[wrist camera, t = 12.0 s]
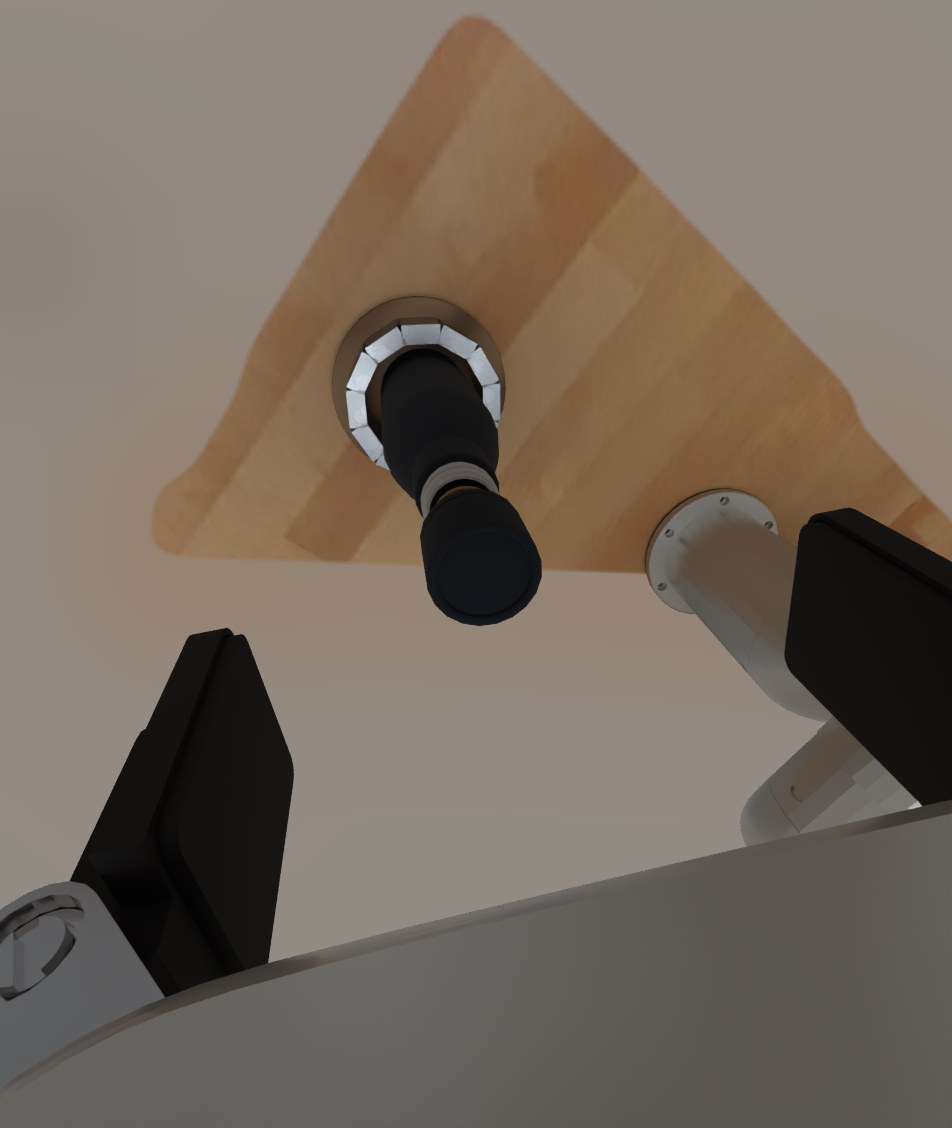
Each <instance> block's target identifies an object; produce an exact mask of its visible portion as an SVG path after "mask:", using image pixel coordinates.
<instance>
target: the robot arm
mask: <svg viewBox="0 0 952 1128" xmlns="http://www.w3.org/2000/svg"><path fill="white" fill-rule="evenodd" d="M646 573H647V577H648V580H649V583H650V585H651V587H652V589H653V590H654V592H655V593H656V594H657V596H658V597H659V598H660V599H661V600H662V601H663V602H664V603H665V604H667V605H668V606H669V607H671V608H673V609H675V610H678V611H680V612H684V613H689V614H696V615H698V617H699V618H700V619H701V620H702V621H703V623H704V624H705V625H706V626H707V627H708V628H709V629H710V631H711V632H712V633H713V634H714V635H715V636H716V637H717V639H718V640H719V641H720V642H721V643H722V644H723V645H724V647H725V648H726V649H727V650H728V651H729V652H730V653H731V655H732V656H733V657H734V658H735V659H736V660H737V661H738V662H739V664H740V665H741V666H742V667H743V668H744V669H745V671H746V672H747V673H748V674H749V675H750V676H751V677H752V678H753V680H754V681H755V682H756V683H757V684H758V685H759V687H760V688H761V689H762V690H763V691H764V692H765V693H766V694H767V695H768V696H769V697H770V698H771V699H772V700H773V701H774V702H776V703H777V704H779V705H780V706H782V707H783V708H785V709H787V710H789V711H791V712H793V713H795V714H797V715H800V716H803V717H806V718H810V719H814V720H817V721H822V722H826V724H824V725H823V726H822V727H821V728H820V729H819V730H818V731H817V734H816V735H815V736H814V737H813V738H812V739H811V740H810V741H808V743H806V744H805V745H804V746H803V747H802V748H801V749H800V750H799V751H798V752H797V753H795V754H794V755H793V756H792V757H791V758H790V759H789V760H788V761H787V762H786V763H785V764H784V765H782V766H781V767H780V768H779V769H778V770H777V771H776V772H775V773H774V774H773V775H772V776H771V777H769V778H768V779H767V780H766V781H765V782H764V783H763V784H762V785H761V786H760V787H759V788H758V789H757V790H756V791H755V792H754V793H753V794H752V796H751V797H750V798H749V799H748V801H747V803H746V804H745V806H744V808H743V811H742V814H741V820H740V824H741V832H742V836H743V839H744V841H745V843H746V846H747V847H744V848H739V849H735V850H731V851H727V852H722V853H718V854H713V855H710V856H705V857H701V858H697V859H692V860H688V861H684V862H679V863H675V864H671V865H667V866H663V867H658V868H654V869H650V870H645V871H641V872H637V873H633V874H628V875H624V876H620V877H615V878H611V879H607V880H603V881H599V882H594V883H591V884H586V885H582V886H578V887H574V888H569V889H565V890H562V891H557V892H553V893H549V894H544V895H540V896H536V897H532V898H528V899H524V900H519V901H515V902H511V903H507V904H503V905H498V906H494V907H491V908H486V909H482V910H478V911H473V912H469V913H465V914H461V915H457V916H453V917H449V918H444V919H440V920H436V921H432V922H428V923H424V924H419V925H415V926H411V927H407V928H403V929H399V930H395V931H391V932H388V933H383V934H380V935H376V936H372V937H368V938H364V939H361V940H356V941H353V942H348V943H345V944H341V945H337V946H333V947H329V948H325V949H321V950H317V951H314V952H310V953H306V954H302V955H298V956H294V957H290V958H286V959H283V960H279V961H275V962H271V963H268V959H269V952H270V946H271V938H272V931H273V924H274V917H275V910H276V903H277V895H278V888H279V881H280V874H281V866H282V860H283V852H284V845H285V838H286V831H287V824H288V816H289V809H290V802H291V795H292V788H293V780H294V769H293V763H292V759H291V755H290V752H289V750H288V747H287V745H286V742H285V739H284V736H283V734H282V731H281V728H280V726H279V723H278V720H277V718H276V715H275V713H274V710H273V707H272V704H271V702H270V699H269V697H268V694H267V691H266V689H265V686H264V683H263V681H262V678H261V675H260V673H259V670H258V668H257V665H256V662H255V659H254V657H253V654H252V651H251V649H250V646H249V643H248V641H247V639H246V637H245V636H244V635H242V634H240V635H235V636H234V634H233V633H232V631H231V630H230V629H228V628H224V629H219V630H213V631H209V632H203V633H198V634H193V635H190V636H189V637H188V639H187V640H186V643H185V645H184V647H183V649H182V651H181V653H180V656H179V658H178V660H177V662H176V664H175V667H174V669H173V671H172V673H171V675H170V678H169V680H168V682H167V684H166V686H165V688H164V691H163V693H162V695H161V697H160V699H159V701H158V704H157V706H156V708H155V710H154V712H153V714H152V717H151V719H150V721H149V723H148V725H147V727H146V729H144V730H143V731H141V733H140V734H139V736H138V738H137V739H136V741H135V743H134V745H133V747H132V749H131V752H130V753H129V756H128V758H127V760H126V762H125V764H124V766H123V768H122V771H121V773H120V775H119V777H118V779H117V781H116V783H115V785H114V788H113V790H112V792H111V794H110V796H109V798H108V800H107V802H106V805H105V807H104V809H103V811H102V813H101V815H100V818H99V820H98V822H97V824H96V826H95V828H94V830H93V832H92V834H91V837H90V839H89V841H88V843H87V845H86V848H85V849H84V851H83V854H82V856H81V858H80V860H79V862H78V865H77V866H76V869H75V871H74V873H73V875H72V877H71V879H70V881H69V882H62V883H55V884H50V885H47V886H44V887H42V888H39V889H37V890H34V891H31V892H29V893H27V894H25V895H23V896H22V897H20V898H18V899H17V900H15V901H13V902H12V903H10V904H8V905H7V906H5V907H4V908H2V909H1V910H0V1128H952V562H951V561H949V560H947V559H946V558H944V557H942V556H940V555H938V554H936V553H935V552H933V551H931V550H929V549H927V548H925V547H924V546H922V545H920V544H918V543H916V542H914V541H912V540H911V539H909V538H907V537H905V536H903V535H901V534H900V533H898V532H896V531H894V530H892V529H890V528H889V527H887V526H885V525H883V524H881V523H879V522H877V521H876V520H874V519H872V518H870V517H868V516H866V515H865V514H863V513H861V512H859V511H857V510H855V509H852V508H844V509H839V510H834V511H828V512H823V513H818V514H815V515H813V516H812V517H811V518H810V519H809V521H808V524H806V525H804V526H803V527H802V529H801V530H800V534H799V541H798V549H796V548H794V547H793V546H792V545H790V544H789V543H787V542H786V541H785V540H783V539H782V538H780V537H779V533H778V528H777V523H776V521H775V518H774V516H773V514H772V513H771V511H770V510H769V509H768V508H767V506H766V505H765V504H763V503H762V502H761V501H759V500H758V499H757V498H755V497H753V496H751V495H750V494H748V493H745V492H742V491H738V490H731V489H719V490H711V491H708V492H704V493H701V494H698V495H696V496H694V497H692V498H690V499H688V500H686V501H685V502H683V503H682V504H680V505H679V506H677V507H676V508H675V509H674V510H673V511H672V512H671V513H669V514H668V515H667V516H666V517H665V518H664V520H663V521H662V522H661V524H660V525H659V526H658V528H657V529H656V531H655V533H654V535H653V537H652V539H651V541H650V544H649V547H648V550H647V556H646Z"/></svg>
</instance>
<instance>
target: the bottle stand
mask: <svg viewBox="0 0 952 1128" xmlns="http://www.w3.org/2000/svg"><path fill="white" fill-rule="evenodd" d="M421 348H428V349H432V350H436V351H440V352H441V353H443V354H445V355H446V356H448V357H449V358H451V359H452V360H453V361H454V363H455V364H456V365H457V366H458V368H459V369H460V370H461V372H462V373H463V374H464V376H465V377H466V379H467V380H468V381H469V383H470V384H471V386H472V387H473V389H474V390H475V391H476V393H477V394H478V396H479V397H480V398H481V400H482V401H483V403H484V404H485V406H486V407H487V408H488V410H489V411H490V413H491V414H492V417H493V420H494V422H495V425H496V428H497V427H498V425H499V423H498V421H499V420H500V416H501V413H502V410H503V405H504V400H505V375H504V369H503V364H502V361H501V358H500V355H499V353H498V350H497V348H496V346H495V344H494V342H493V341H492V339H491V338H490V336H489V335H488V333H487V332H486V331H485V330H484V328H483V327H482V326H481V325H480V324H479V323H478V322H477V321H476V320H475V319H474V318H472V317H471V316H470V315H469V314H467V313H466V312H464V311H463V310H461V309H460V308H458V307H456V306H454V305H452V304H450V303H448V302H445V301H442V300H439V299H435V298H429V297H418V296H412V297H402V298H398V299H394V300H391V301H388V302H386V303H383V304H381V305H379V306H377V307H375V308H374V309H372V310H370V311H369V312H368V313H366V314H365V315H364V316H363V317H361V318H360V319H359V320H358V321H357V323H356V324H355V325H354V326H353V327H352V328H351V330H350V331H349V332H348V334H347V335H346V337H345V339H344V341H343V343H342V345H341V347H340V349H339V352H338V355H337V358H336V361H335V365H334V370H333V380H332V390H333V399H334V404H335V409H336V412H337V415H338V418H339V420H340V422H341V424H342V426H343V428H344V430H345V432H346V433H347V435H348V436H349V438H350V439H351V440H352V441H353V443H354V444H355V445H356V446H357V447H358V448H359V449H360V450H361V451H362V452H363V453H364V454H365V455H367V456H368V457H369V458H371V460H372V461H375V462H376V464H377V465H379V466H381V467H383V468H385V469H387V470H389V468H388V466H387V464H386V462H385V459H384V452H383V444H382V419H381V385H382V380H383V375H384V374H385V372H386V370H387V368H388V366H389V365H390V363H391V362H393V361H394V360H395V359H396V358H397V357H398V356H399V355H400V354H403V353H405V352H407V351H410V350H412V349H421ZM389 471H390V470H389Z"/></svg>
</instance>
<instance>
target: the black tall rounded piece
mask: <svg viewBox="0 0 952 1128" xmlns="http://www.w3.org/2000/svg"><path fill="white" fill-rule="evenodd" d="M381 419H382V444H383V452H384V459H385V462H386V464H387V466H388V468H389V470H390V472H391V474H392V476H393V477H394V479H395V480H396V482H397V483H398V484H399V485H400V486H401V487H402V488H403V489H404V490H405V491H406V492H407V493H408V494H409V495H410V497H411V498H413V499H415V501H416V505H417V508H418V510H419V512H420V514H421V516H422V517H423V518H424V522H423V526H422V530H421V534H420V539H421V548H422V555H423V562H424V569H425V576H426V582H427V589H428V592H429V594H430V596H431V598H432V600H433V602H434V604H435V605H436V606H437V607H438V608H439V609H440V610H441V611H442V612H443V613H444V614H445V615H446V616H447V617H450V618H452V619H454V620H456V621H458V622H460V623H463V624H470V625H476V626H482V625H491V624H497V623H499V622H502V621H504V620H507V619H509V618H511V617H513V616H515V615H516V614H517V613H519V612H520V611H521V610H522V609H524V608H525V607H526V606H527V605H528V603H529V602H530V601H531V599H532V598H533V596H534V595H535V594H536V592H537V589H538V586H539V583H540V580H541V577H542V569H541V558H540V556H539V553H538V550H537V548H536V545H535V543H534V542H533V540H532V538H531V536H530V534H529V532H528V530H527V529H526V527H525V525H524V523H523V521H522V519H521V517H520V516H519V514H518V512H517V510H516V509H515V508H514V507H513V506H512V505H511V503H510V502H509V501H508V500H507V499H505V498H504V497H502V496H500V494H499V482H498V480H497V477H496V475H495V471H496V467H497V464H498V458H499V448H498V430H497V428H496V425H495V422H494V420H493V417H492V414H491V413H490V411H489V410H488V408H487V407H486V406H485V404H484V403H483V401H482V400H481V398H480V397H479V396H478V394H477V393H476V391H475V390H474V389H473V387H472V386H471V384H470V383H469V381H468V380H467V379H466V377H465V376H464V374H463V373H462V372H461V370H460V369H459V368H458V366H457V365H456V364H455V363H454V361H453V360H452V359H451V358H449V357H448V356H446V355H445V354H443V353H441V352H440V351H436V350H432V349H428V348H421V349H412V350H410V351H407V352H405V353H403V354H400V355H399V356H398V357H397V358H396V359H395V360H394V361H393V362H391V363H390V365H389V366H388V368H387V370H386V372H385V374H384V375H383V380H382V385H381Z"/></svg>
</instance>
